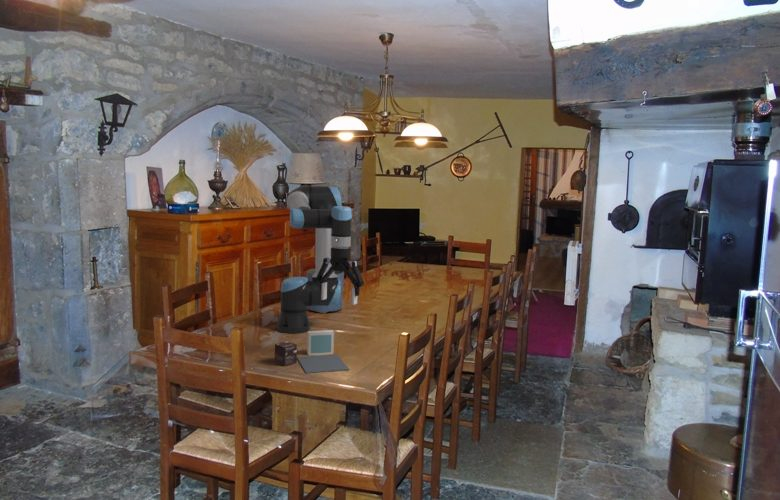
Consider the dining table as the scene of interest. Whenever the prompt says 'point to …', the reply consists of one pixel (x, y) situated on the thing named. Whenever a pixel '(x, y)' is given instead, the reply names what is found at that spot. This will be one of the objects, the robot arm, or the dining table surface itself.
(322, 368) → the mat
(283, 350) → the box
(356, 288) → the robot arm
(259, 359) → the dining table surface
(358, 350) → the dining table surface
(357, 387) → the dining table surface
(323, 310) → the planter
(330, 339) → the light grey flat block
